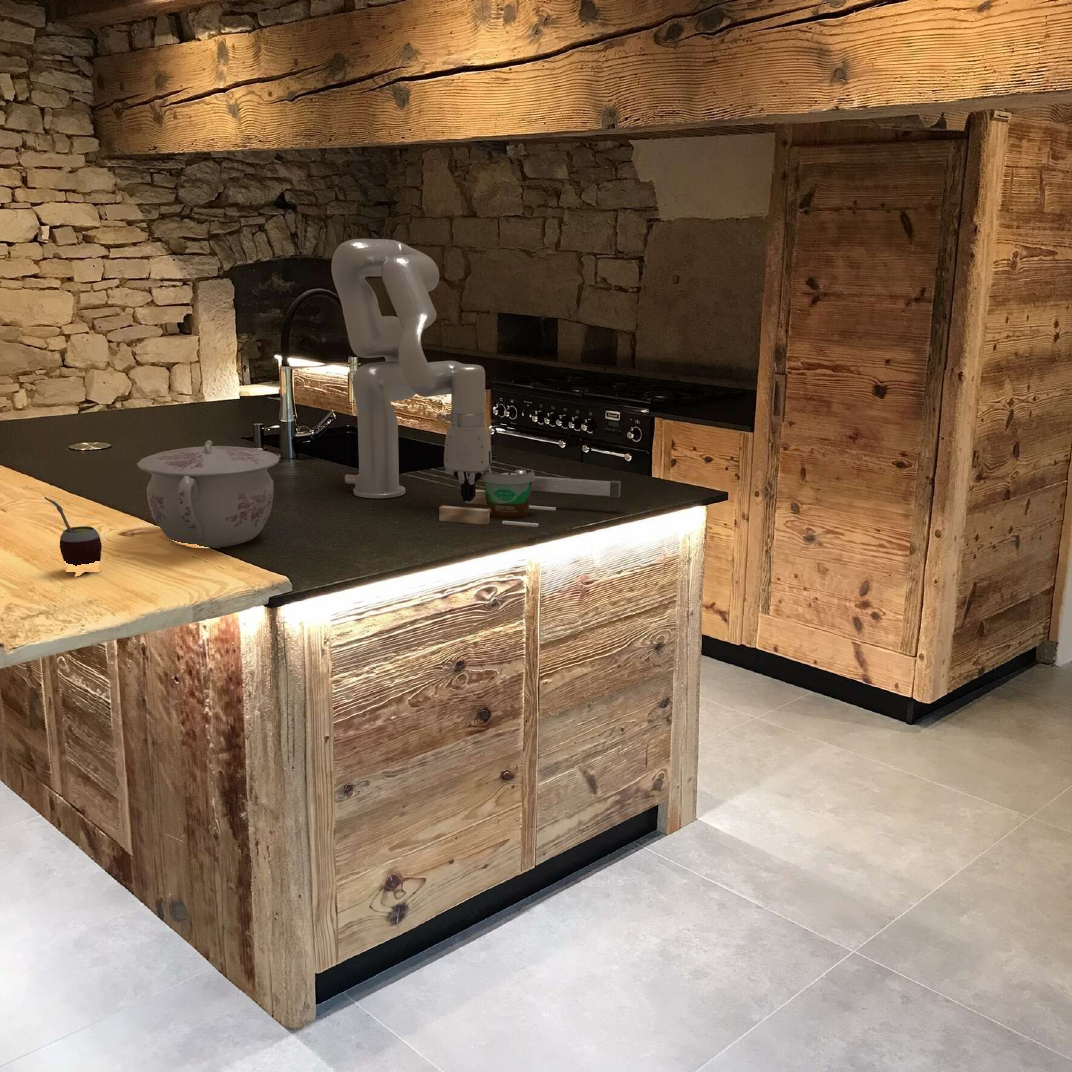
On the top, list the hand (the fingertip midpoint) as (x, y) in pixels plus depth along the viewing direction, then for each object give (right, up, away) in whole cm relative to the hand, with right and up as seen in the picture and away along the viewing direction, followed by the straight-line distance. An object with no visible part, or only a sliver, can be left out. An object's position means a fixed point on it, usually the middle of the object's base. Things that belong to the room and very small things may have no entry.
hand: (468, 500), depth 249 cm
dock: (+2, -3, 0) cm, 3 cm away
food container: (+9, -4, -2) cm, 10 cm away
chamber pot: (-50, -9, -27) cm, 58 cm away
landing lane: (+14, -4, -3) cm, 15 cm away
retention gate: (+23, -2, +5) cm, 23 cm away
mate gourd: (-68, -15, -49) cm, 85 cm away
